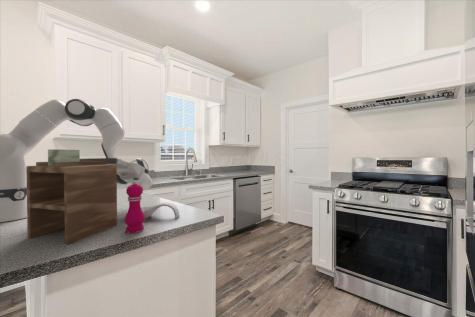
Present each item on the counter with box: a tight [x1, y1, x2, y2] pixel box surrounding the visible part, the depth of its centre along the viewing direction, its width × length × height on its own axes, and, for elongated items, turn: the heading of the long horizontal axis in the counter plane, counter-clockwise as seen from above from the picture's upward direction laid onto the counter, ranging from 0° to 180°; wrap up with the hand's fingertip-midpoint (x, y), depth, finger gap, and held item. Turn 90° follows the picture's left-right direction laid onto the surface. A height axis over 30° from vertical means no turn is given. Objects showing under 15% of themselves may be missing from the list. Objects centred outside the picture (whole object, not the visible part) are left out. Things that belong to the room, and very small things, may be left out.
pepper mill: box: [124, 180, 145, 234], centre depth 86 cm, size 7×7×20 cm
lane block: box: [47, 149, 118, 166], centre depth 90 cm, size 6×26×6 cm, turn 164°
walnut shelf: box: [25, 161, 118, 245], centre depth 84 cm, size 20×20×28 cm
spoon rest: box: [141, 202, 180, 219], centre depth 104 cm, size 24×12×7 cm, turn 92°
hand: (109, 160), depth 99 cm, fingers open, 8 cm apart
